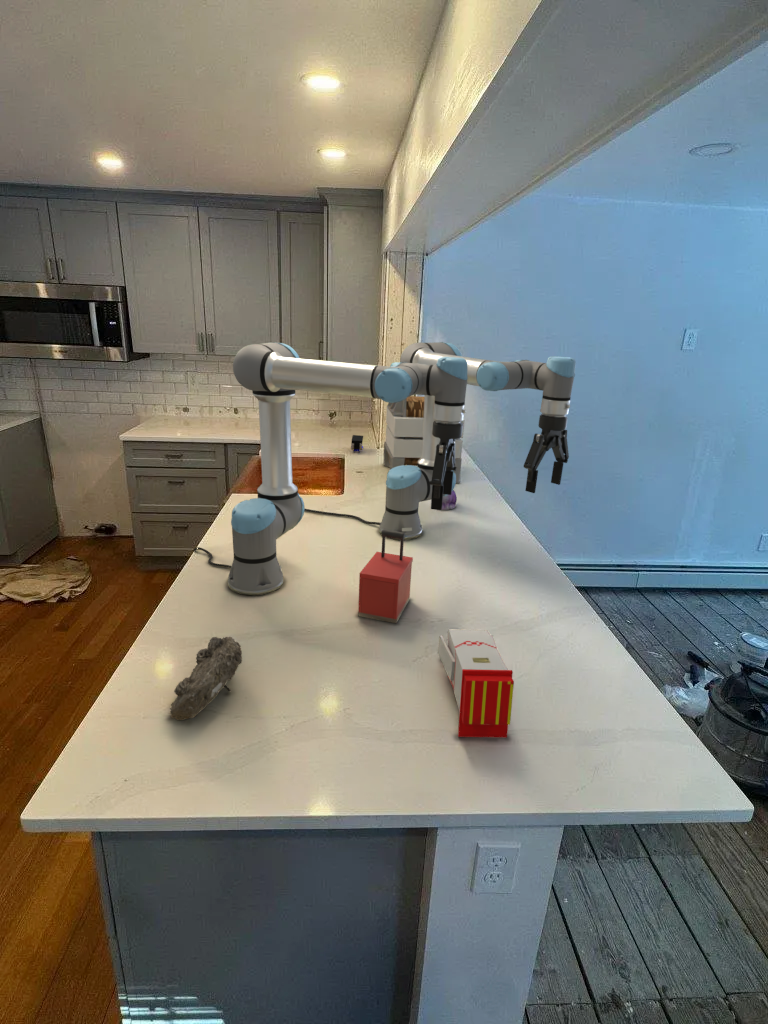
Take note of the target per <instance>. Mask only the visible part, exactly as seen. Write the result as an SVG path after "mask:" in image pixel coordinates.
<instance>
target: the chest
mask: <svg viewBox="0 0 768 1024" xmlns="http://www.w3.org/2000/svg"><path fill="white" fill-rule="evenodd" d="M412 565H413V562H412V563H411V565H410V566H409V568H408V569H407V571H406V573H405V574H404V576H403V577H402V579H401V581H400V582H399V584H396V583H390V582H385V581H379V580H373V579H368V578H362V577H359V578H358V579H359V582H358V610H357V611H358V612H357V617H362V618H366V619H371V620H377V621H381V622H387V623H391V624H397V623H398V621H399V619H400V618H401V617H402V614H403V613H404V610H405V609H406V607H407V605H408V603H409V601H410V599H411V582H412V580H411V579H412V567H413V566H412Z"/></svg>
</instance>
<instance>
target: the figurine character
mask: <svg viewBox="0 0 768 1024" xmlns="http://www.w3.org/2000/svg"><path fill="white" fill-rule="evenodd" d="M363 441H364V435H360V434H359V435H357V434H352V435H351V443H350V450H351V451H352V450H353V451H352V453H355V452H358V454H360V453H361V451H362V450H363V448H364V446H363V443H364V442H363Z"/></svg>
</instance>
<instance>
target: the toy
mask: <svg viewBox="0 0 768 1024" xmlns="http://www.w3.org/2000/svg"><path fill="white" fill-rule="evenodd" d="M446 640H447V643H446V641H445V639H444V636H443V635H442V634H439V637H438V646H437V656H438V657H439V659H440V661H441V663H442V666H443V668H444V670H445V672H446V674H447V677H448V679H449V681H450V684H451V687H452V690H453V693H454V697H455V701H456V705H457V708H458V711H459V714H458V715H459V716H458V730H457V731H458V732H457V737H458V738H508V731H509V726H510V725H511V717H512V707H513V697H514V696H513V695H514V684H515V680H514V679H513V673H514V671H513V670H512V669H508V667H507V665H506V662H505V661H504V659H503V658H502V655H501V653H500V651H499V649H498V647H497V643H496V639H495V637H494V635H493V634H491V632H490V631H489V629H467V628H466V629H465V628H463V629H461V628H460V629H459V628H448V630H447V639H446Z"/></svg>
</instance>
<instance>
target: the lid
mask: <svg viewBox="0 0 768 1024" xmlns="http://www.w3.org/2000/svg"><path fill="white" fill-rule="evenodd" d="M380 535H381V551H376V552H374V554H373V556H372V557H371V558H370V560H368V562H367V563H366V565H364V567H363V568H362V569H361V570H360V572H359V577H362V578H368V579H373V580H379V581H385V582H390V583H396V584H399V582H400V581H401V579H402V577H403V576H404V574H405V573H406V571H407V569H408V568H409V566H410V565H411V563H412V564H413V562H414V561H413V560H414V557H413V556H412V557H411V556H406V555H404V541H405V540H404V538H405V533H403V532H397V531H390V530H384V529H383V530H382V532H381V534H380ZM387 537H388V538H387ZM386 538H387V539H390V538H394V539H393V540H395V539H400V540H399V543H400V544H399V554H393V553H387V552H386Z"/></svg>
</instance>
